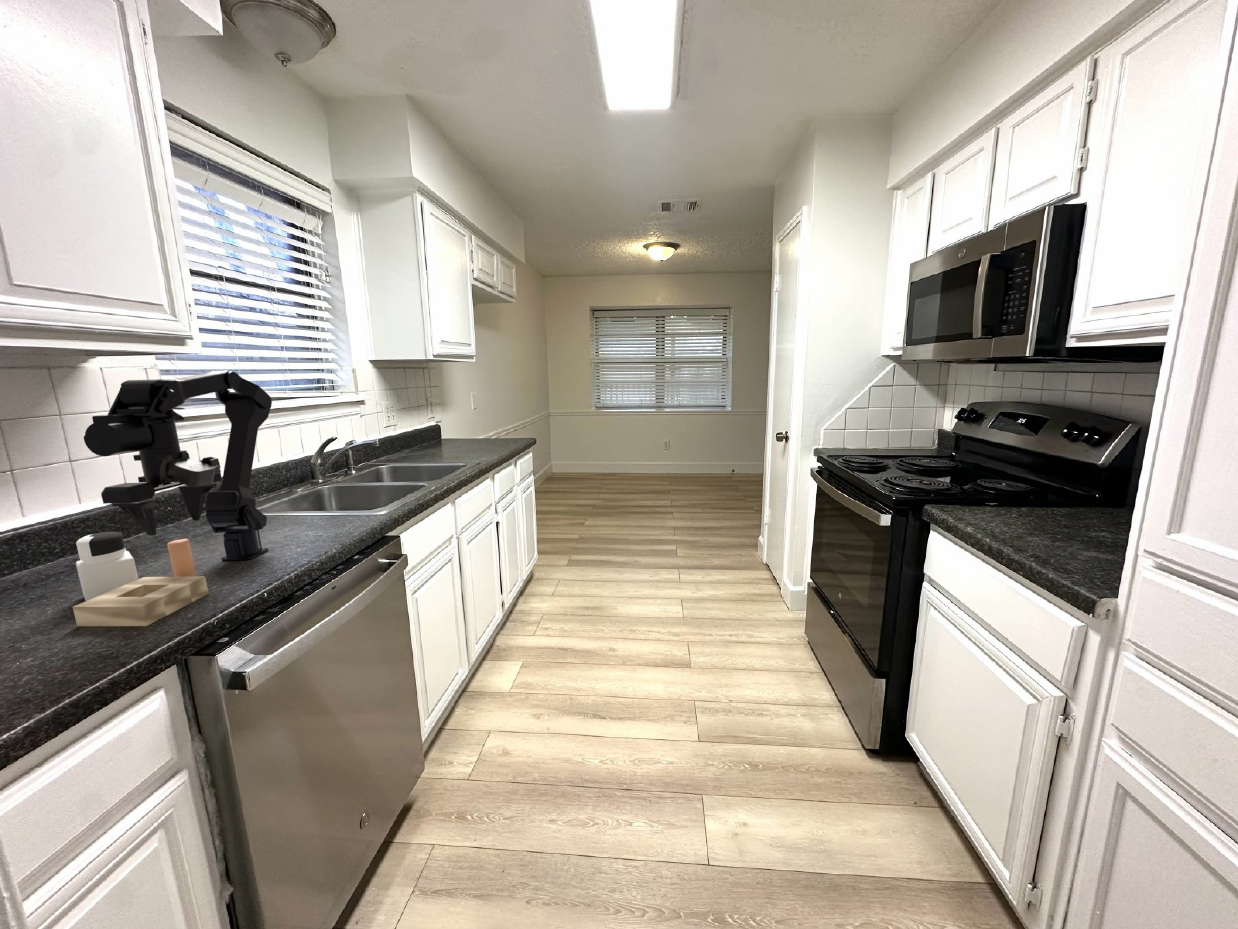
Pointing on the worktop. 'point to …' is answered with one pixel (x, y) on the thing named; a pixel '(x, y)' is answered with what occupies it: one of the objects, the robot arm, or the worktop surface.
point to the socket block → (140, 601)
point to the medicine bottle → (104, 564)
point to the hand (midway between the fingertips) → (175, 527)
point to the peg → (181, 558)
